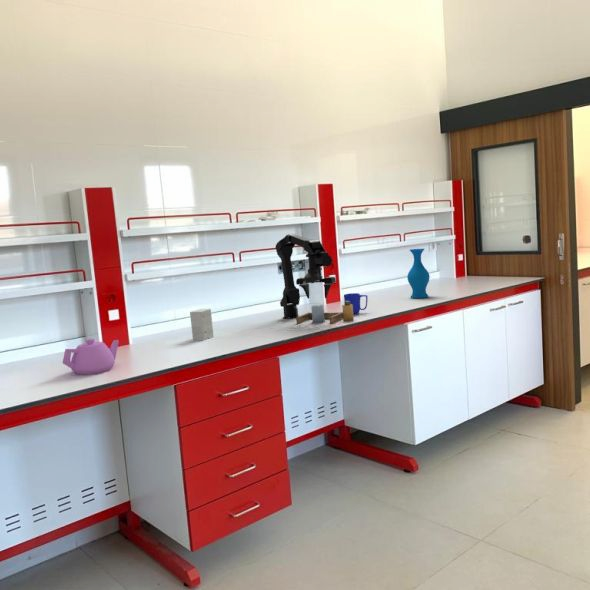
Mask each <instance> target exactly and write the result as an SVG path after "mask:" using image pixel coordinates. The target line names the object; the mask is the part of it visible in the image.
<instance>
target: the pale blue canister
mask: <svg viewBox="0 0 590 590" xmlns="http://www.w3.org/2000/svg"><path fill="white" fill-rule="evenodd" d="M310 309H311V313H312V319H311V320H312V323H313V324H319V323H320V324H321V323H322V324H323V323H325V322H326V319H325V317H324V313H325V306H324V304H313V305H311V307H310Z"/></svg>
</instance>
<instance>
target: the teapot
mask: <svg viewBox="0 0 590 590" xmlns="http://www.w3.org/2000/svg"><path fill="white" fill-rule="evenodd" d="M119 342H120V341H119V339H115V340H113V341H112V343H111V345H110V348H109V346H107V345H106V343H105V342H104V341H95V338H88V339H85V343H80V344H78V345H77V347H76V348H65V350H64V353H63V354H64V355H63V358H62V364H63V365H65V366H66V367H68V368H69V369H71V371H73V373H74V374H75V375H79V376H88V375H90V376H91V375H96V374H102V373H105V372H107V371H110V370H112V368H113V367H114V365H115V360H116V357H117V352H118V347H119ZM71 356H72V357H71Z"/></svg>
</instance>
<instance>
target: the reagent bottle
mask: <svg viewBox="0 0 590 590" xmlns="http://www.w3.org/2000/svg"><path fill="white" fill-rule="evenodd" d="M341 309H342V312H343V319H342V321H343V322H353V321H354V320H355V319H354V314H353V305H352V304H350V301H345V300H344V303H343V304H342V305H341Z"/></svg>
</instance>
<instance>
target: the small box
mask: <svg viewBox="0 0 590 590" xmlns="http://www.w3.org/2000/svg"><path fill="white" fill-rule="evenodd" d="M189 315H190V316H189V317H190V323H191V324H190V325H191V326H190V327H191V333H192V340H193V341H206V340H208V339H211V338H213V337H214V329H213V317H212V309H211V308H198V309H195V310H191V311H190V312H189Z"/></svg>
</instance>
